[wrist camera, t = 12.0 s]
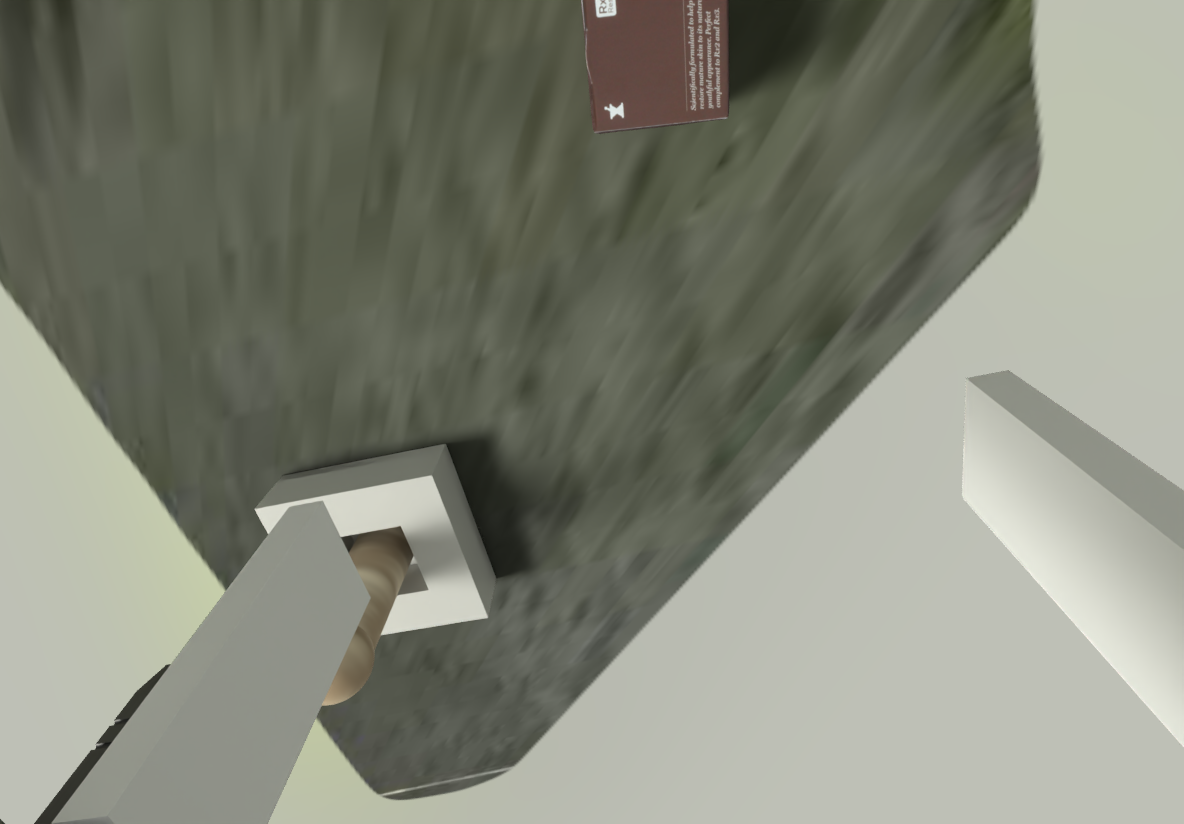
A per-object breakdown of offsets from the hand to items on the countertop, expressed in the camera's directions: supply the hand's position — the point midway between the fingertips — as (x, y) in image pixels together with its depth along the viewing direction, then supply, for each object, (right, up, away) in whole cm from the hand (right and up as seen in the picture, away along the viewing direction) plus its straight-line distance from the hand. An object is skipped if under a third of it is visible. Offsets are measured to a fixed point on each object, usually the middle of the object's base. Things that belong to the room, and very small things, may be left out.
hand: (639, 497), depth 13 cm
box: (+2, +20, +20) cm, 29 cm away
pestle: (-15, -7, +33) cm, 37 cm away
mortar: (-15, -7, +33) cm, 37 cm away
